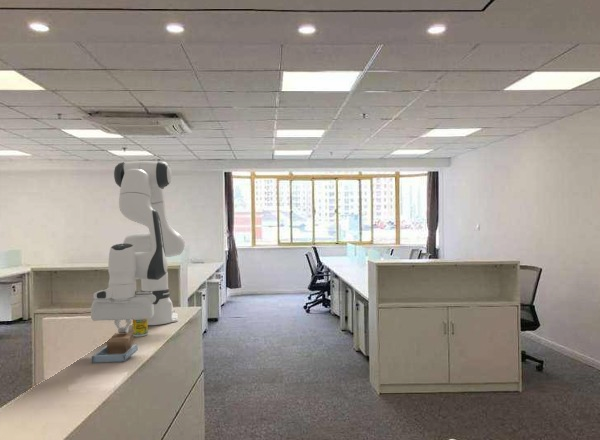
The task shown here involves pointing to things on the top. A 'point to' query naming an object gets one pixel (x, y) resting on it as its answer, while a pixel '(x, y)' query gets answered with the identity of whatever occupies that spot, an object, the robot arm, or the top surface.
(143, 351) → the top surface
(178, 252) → the robot arm
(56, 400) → the top surface
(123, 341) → the wooden block
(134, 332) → the supplement bottle
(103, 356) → the tray
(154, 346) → the top surface
